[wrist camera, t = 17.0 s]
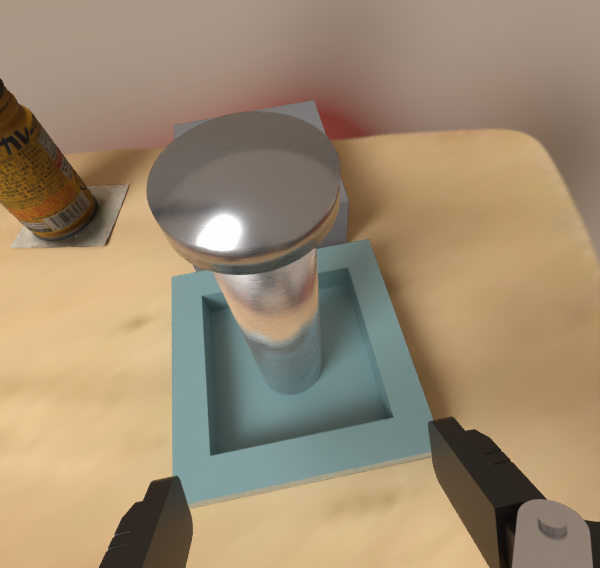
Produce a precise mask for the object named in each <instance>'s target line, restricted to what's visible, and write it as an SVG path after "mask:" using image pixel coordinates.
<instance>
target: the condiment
mask: <svg viewBox="0 0 600 568" xmlns="http://www.w3.org/2000/svg"><path fill="white" fill-rule="evenodd" d="M128 186H129V185H104V186H100V185H96V186H86V185H85V184H84V182H83V181H82V180H81V178H80V177H79V176H78V174H77V172H76V171H75V170H74V169H73V168H72V166H71V165H70V164H69V162H68V161H67V159H66V158H65V157H64V155H63V154H62V153H61V151H60V150H59V148H58V147H57V146H56V144H55V143H54V142H53V141H52V139H51V138H50V136H49V135H48V134H47V132H46V131H45V129H44V128H43V127H42V126H41V124H40V123H39V122H38V120H37V119H36V118H35V116H34V115H33V113H32V112H31V111H30V110H29V109H27V108H26V107H24V106H22V105H20V104H18V102H17V100H16V98H15V97H14V95H13V94H12V93H10V92H9V91H8V90H7V89H6V87H5V86H4V83H3V82H2V80H1V79H0V203H1V204H2V205H3V206H4V207H5V208H6V209H7V210H8V211H9V212H10V213H11V214H13V215H14V216H15V217H16V218H17V219H18V220H19V222H21V223H22V224H23V225H24V226H23V227H22V229H21V230H20V232H19V233H18V234H17V237H16V238H15V240H14V242H13V244H12V246H11V248H15V247H16V248H34V247H37V248H47V247H50V248H52V247H63V246H68V247H86V246H104V245H105V242H106V240H107V238H108V237H109V234H110V232H111V230H112V227H113V225H114V223H115V220H116V218H117V215H118V212H119V211H120V209H121V204H122V201H123V199H124V197H125V194H126V191H127V188H128ZM98 201H100V203H99V202H98ZM101 202H102V203H103V205H102V204H101ZM76 236H77V237H76Z"/></svg>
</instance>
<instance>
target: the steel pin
mask: <svg viewBox="0 0 600 568" xmlns="http://www.w3.org/2000/svg"><path fill="white" fill-rule="evenodd" d="M340 175H341V170H340V161H339V157H338V153H337V151H336V149H335V147H334V145H333V144H332V142H331V141H330V139H329V138H327V136H326V135H325V134H324V133H323V132H321V131H320V130H319V129H318V128H316V127H315V126H313V125H311V124H310V123H308V122H306V121H304V120H301V119H299V118H296V117H293V116H290V115H286V114H281V113H275V112H263V111H253V112H241V113H234V114H230V115H224V116H221V117H217V118H214V119H211V120H209V121H206V122H203V123H201V124H199V125H197V126H195V127H193V128H191V129H189V130H188V131H186V132H184V133H183V134H181V135H180V136H179V137H177V138H176V139H175V140H174V141H172V142H171V143H170V144H169V145H168V146H167V147H166V148H165V149H164V150H163V152H162V153H161V154H160V155H159V157H158V158H157V160H156V161H155V163H154V165H153V167H152V169H151V171H150V174H149V177H148V181H147V200H148V204H149V207H150V209H151V211H152V213H153V215H154V217H155V219H156V221H157V222H158V224H159V226H160V227H161V229H162V231H163V233H164V234H165V236H166V238H167V240H168V241H169V243H170V244H171V246H172V247H173V248H174V250H175V251H176V252H177V253H178V254H179V255H180V256H181V257H183V258H184V259H186V260H187V261H188V262H190V263H192V264H194V265H196V266H198V267H200V268H202V269H205V270H208V271H211V272H213V273H214V275H215V277H216V280H217V282H218V284H219V286H220V288H221V290H222V292H223V294H224V296H225V299H226V301H227V303H228V305H229V307H230V309H231V311H232V313H233V315H234V318H235V320H236V322H237V324H238V326H239V328H240V330H241V332H242V334H243V337H244V339H245V341H246V343H247V345H248V347H249V349H250V351H251V353H252V356H253V358H254V360H255V362H256V364H257V366H258V368H259V370H260V372H261V375H262V377H263V379H264V381H265V382H266V384H267V385H268V386H269V387H270V388H271V389H273V390H274V391H276V392H278V393H281V394H285V395H295V394H300V393H302V392H305V391H306V390H308V389H309V388H311V387H312V386H313V385H314V384H315V383H316V381H317V380H318V378H319V376H320V373H321V369H322V354H321V333H320V313H319V293H318V272H317V252H316V247H317V246H318V245H319V244H320V243H321V242H322V240H323V239H324V238H325V237H326V236H327V234H328V233H329V231H330V230H331V228H332V226H333V224H334V222H335V220H336V217H337V214H338V211H339V203H340Z"/></svg>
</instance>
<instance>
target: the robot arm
mask: <svg viewBox="0 0 600 568" xmlns="http://www.w3.org/2000/svg"><path fill="white" fill-rule="evenodd" d="M428 431H429V438H430V446H431V454H432V462H433V467H434V470H435V474H436V476H437V479H438V481H439V483H440V485H441V487H442V488H443V490H444V492H445V493H446V495H447V497H448V499H449V500H450V502H451V504H452V505H453V507H454V509H455V510H456V512H457V514H458V515H459V517H460V519H461V520H462V522H463V524H464V525H465V527H466V529H467V530H468V532H469V534H470V535H471V537H472V539H473V540H474V542H475V544H476V545H477V547H478V549H479V550H480V552H481V554H482V555H483V557H484V559H485V560H486V562H487V564H488V565H489V567H490V568H600V522H594V521H587V520H584V519H583V518H582V517H581V516H580V515H579V514H578V513H576V512H575V511H574V510H572V509H571V508H569V507H567V506H565V505H563V504H561V503H558V502H555V501H551V500H547V499H546V498H545V497H544V496H543V495H542V494H541V492H540V491H539V490H538V489H537V488H536V487H535V486H534V485H533V484H532V483H531V482H530V481H529V479H528V478H527V477H526V476H525V475H524V474H523V473H522V472H521V471H520V470H519V469H518V468H517V466H516V465H515V464H514V463H513V462H511V461H510V459H509V458H508V457H507V456H506V455H505V454H504V452H502V451H501V449H500V448H499V447H498V446H497V445H496V444H495V443H494V442H493V441H492V439H491V438H489V437H488V436H486V435H484V434H482V433H480V432H478V431H477V430H475V429H473V430H468V431H465V430H464V429H463V428H462V427H461V425H460V424H459V423H458V422H457V421H456V419H455V418H454V417H452V416H451V417H446V418H442V419H437V420H433V421H429V422H428ZM114 535H115V537H114V538H113V539H112V541H111V543H110V545H109V547H108V551H107V552H106V553H105V556H104V558H103V560H102V562H101V564H100V566H99V568H185V567H186V563H187V558H188V554H189V550H190V545H191V541H192V535H193V523H192V517H191V513H190V510H189V506H188V503H187V500H186V497H185V493H184V490H183V487H182V484H181V480H180V478H179V477H178V476H172V477H168V478H163V479H158V480H154V481H152V482H151V483H150V485H149V488H148V490H147V492H146V495H145V497H144V499H143V501H141V502H136V503H135V504H134V505H133V506H132V507H131V508H130V509H129V511H128V512H127V513H126V514H125V515H124V516H123V518H122V519H121V521H120V524H119V526H118V528H117V530H116V532H115V534H114Z"/></svg>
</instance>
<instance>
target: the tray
mask: <svg viewBox="0 0 600 568" xmlns="http://www.w3.org/2000/svg"><path fill="white" fill-rule="evenodd" d="M316 252H317V272H318V293H319V313H320V333H321V354H322V369H321V373H320V376H319V378H318V380H317V381H316V383H315V384H314V385H313V386H312V387H311V388H309V389H308V390H306V391H305V392H302V393H300V394H295V395H285V394H281V393H278V392H276V391H274V390H273V389H271V388H270V387H269V386H268V385H267V384H266V382H265V381H264V379H263V377H262V375H261V372H260V370H259V368H258V366H257V364H256V362H255V360H254V358H253V356H252V353H251V351H250V349H249V347H248V345H247V343H246V341H245V339H244V337H243V334H242V332H241V330H240V328H239V326H238V324H237V322H236V320H235V318H234V315H233V313H232V311H231V309H230V307H229V305H228V303H227V301H226V299H225V296H224V294H223V292H222V290H221V288H220V286H219V284H218V282H217V280H216V277H215V275H214V273H213V272H211V271H208V270H205V271H200V272H194V273H189V274H184V275H179V276H174V277H172V446H173V476H178V477H179V478H180V480H181V484H182V487H183V490H184V493H185V497H186V500H187V503H188V506H189V508H196V507H200V506H205V505H210V504H214V503H219V502H224V501H229V500H233V499H238V498H243V497H247V496H252V495H257V494H261V493H266V492H271V491H275V490H280V489H285V488H289V487H294V486H299V485H303V484H308V483H313V482H317V481H322V480H327V479H331V478H336V477H341V476H346V475H350V474H355V473H360V472H364V471H369V470H374V469H378V468H383V467H388V466H392V465H397V464H402V463H406V462H411V461H416V460H420V459H425V458H430V457H432V454H431V446H430V438H429V431H428V422H429V421H433V417H432V414H431V411H430V409H429V406H428V403H427V400H426V398H425V395H424V392H423V389H422V386H421V384H420V381H419V378H418V375H417V372H416V370H415V367H414V364H413V361H412V358H411V356H410V353H409V350H408V347H407V344H406V342H405V339H404V336H403V333H402V330H401V328H400V325H399V322H398V319H397V316H396V314H395V311H394V308H393V305H392V303H391V300H390V297H389V294H388V291H387V289H386V286H385V283H384V280H383V277H382V275H381V272H380V269H379V266H378V263H377V261H376V258H375V255H374V252H373V249H372V247H371V244H370V241H369V239H366V240H361V241H356V242H350V243H345V244H340V245H335V246H330V247H324V248H319V249H316Z"/></svg>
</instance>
